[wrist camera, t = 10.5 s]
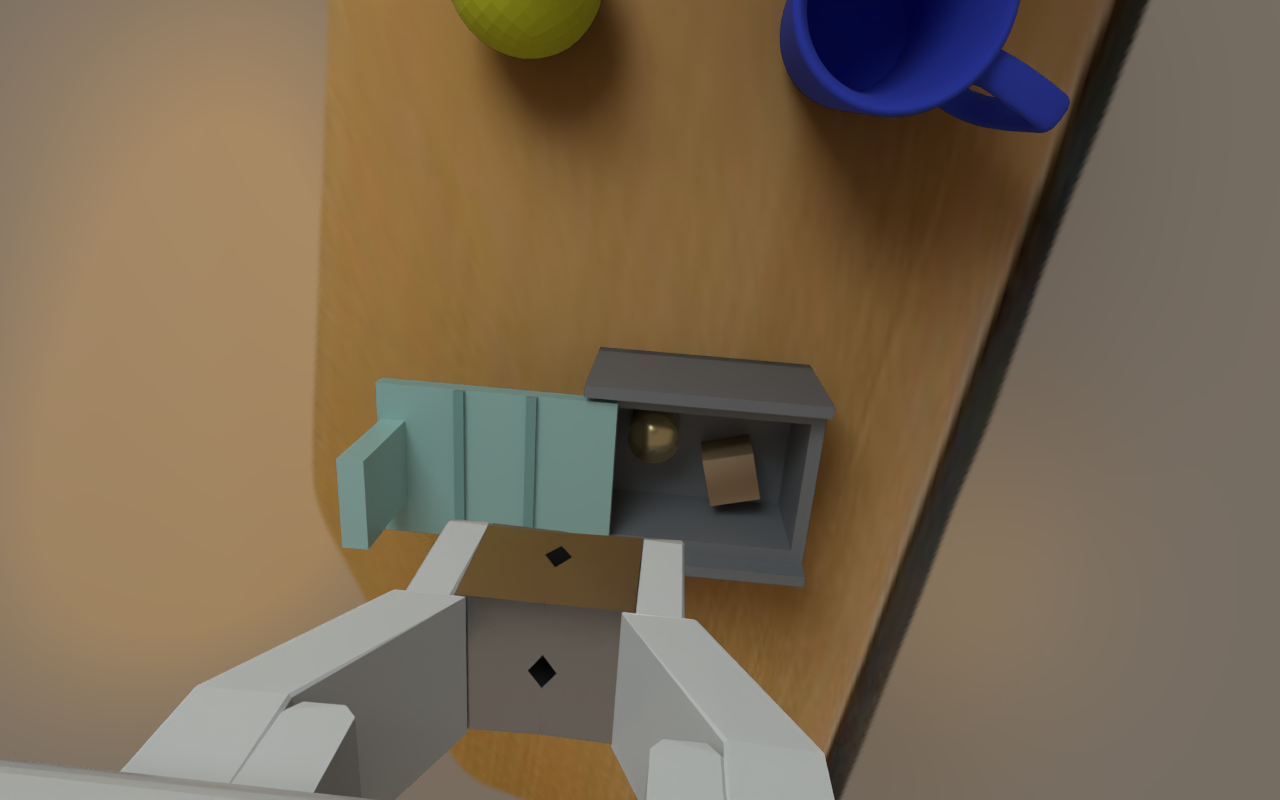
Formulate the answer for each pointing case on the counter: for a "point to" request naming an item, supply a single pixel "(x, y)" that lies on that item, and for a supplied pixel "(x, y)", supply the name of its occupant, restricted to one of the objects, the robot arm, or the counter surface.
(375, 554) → the counter surface
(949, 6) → the mug
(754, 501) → the grey box
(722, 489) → the wood part
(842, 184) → the counter surface
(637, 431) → the brass part
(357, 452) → the lid
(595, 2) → the pear
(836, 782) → the counter surface
